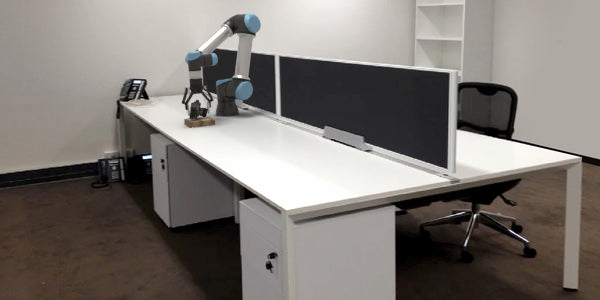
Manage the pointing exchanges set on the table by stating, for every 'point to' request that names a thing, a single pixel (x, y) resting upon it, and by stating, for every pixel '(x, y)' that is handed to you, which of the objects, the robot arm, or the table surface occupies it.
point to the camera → (197, 110)
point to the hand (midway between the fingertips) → (198, 114)
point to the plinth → (199, 122)
